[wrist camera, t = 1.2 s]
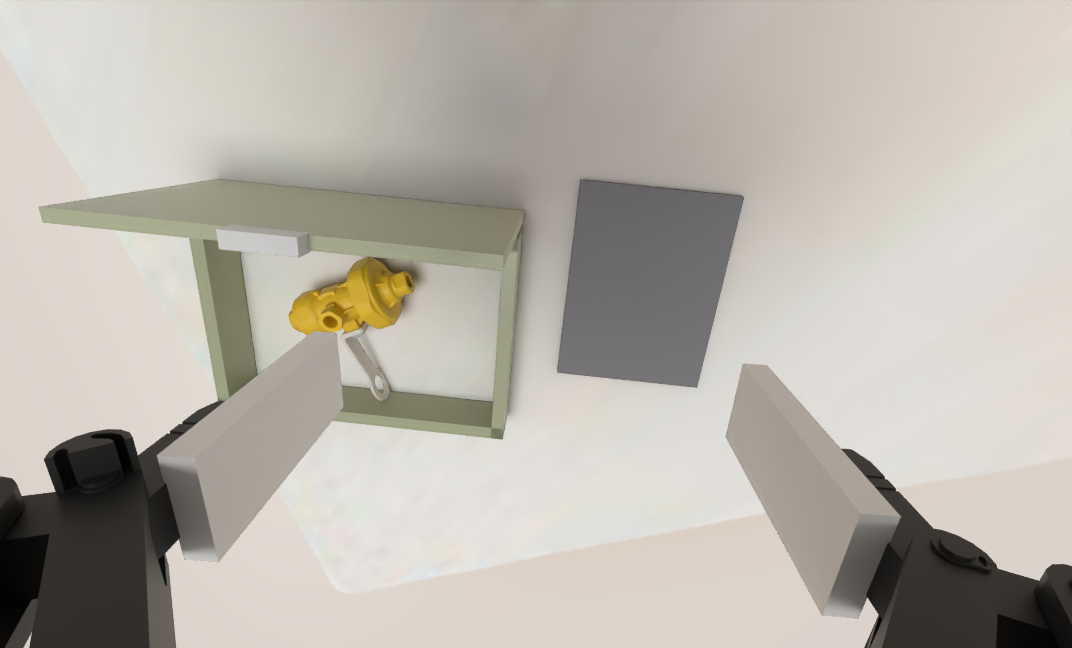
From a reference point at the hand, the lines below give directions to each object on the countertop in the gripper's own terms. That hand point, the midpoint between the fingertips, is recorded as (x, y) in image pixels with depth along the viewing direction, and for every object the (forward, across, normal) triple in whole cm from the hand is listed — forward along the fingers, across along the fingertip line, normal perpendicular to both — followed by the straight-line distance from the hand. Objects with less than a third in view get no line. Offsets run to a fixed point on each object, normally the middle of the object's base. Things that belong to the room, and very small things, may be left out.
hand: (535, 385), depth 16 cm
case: (+24, -14, -7) cm, 29 cm away
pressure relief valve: (+25, -14, -8) cm, 30 cm away
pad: (+24, +8, -4) cm, 26 cm away
